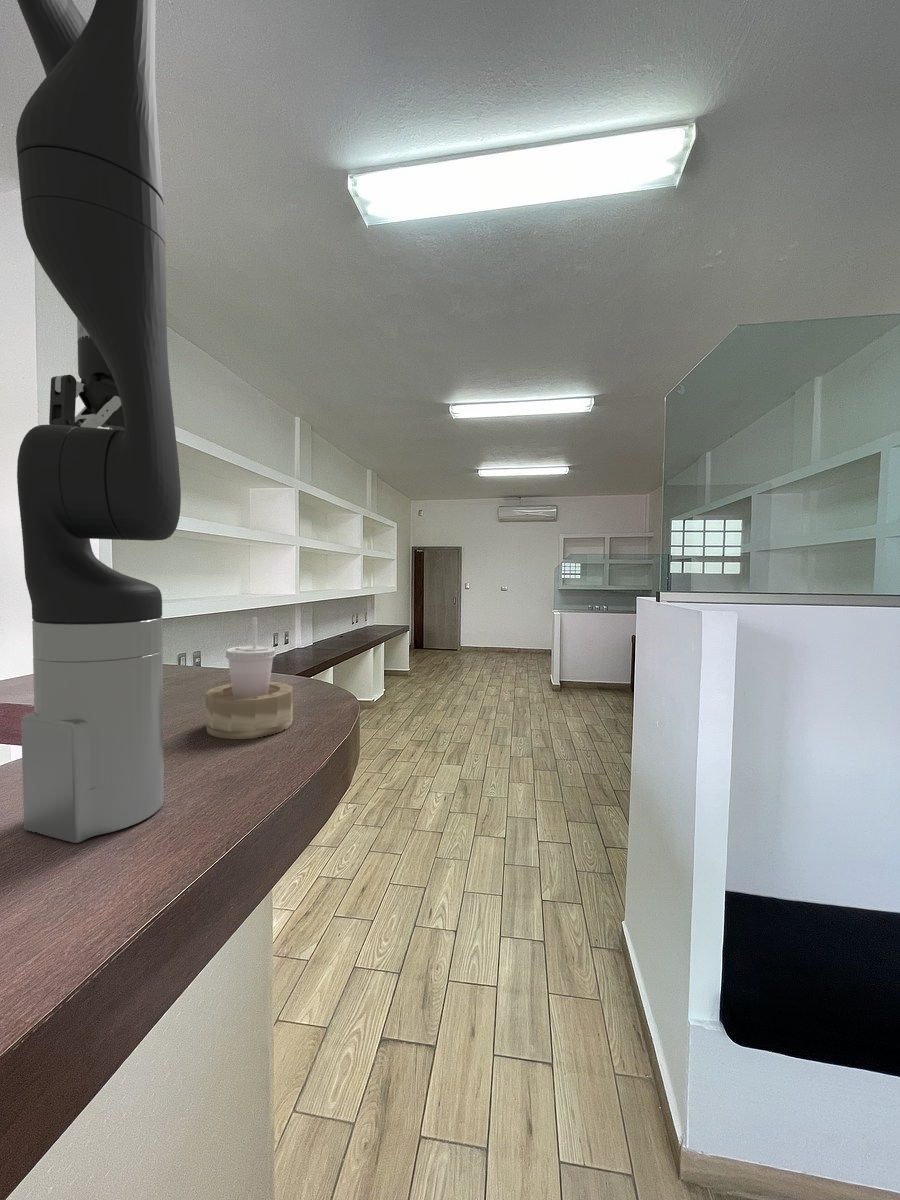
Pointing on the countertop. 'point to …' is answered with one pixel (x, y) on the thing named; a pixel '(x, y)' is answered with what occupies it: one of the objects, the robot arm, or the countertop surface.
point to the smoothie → (250, 668)
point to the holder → (248, 712)
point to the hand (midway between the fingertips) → (116, 477)
